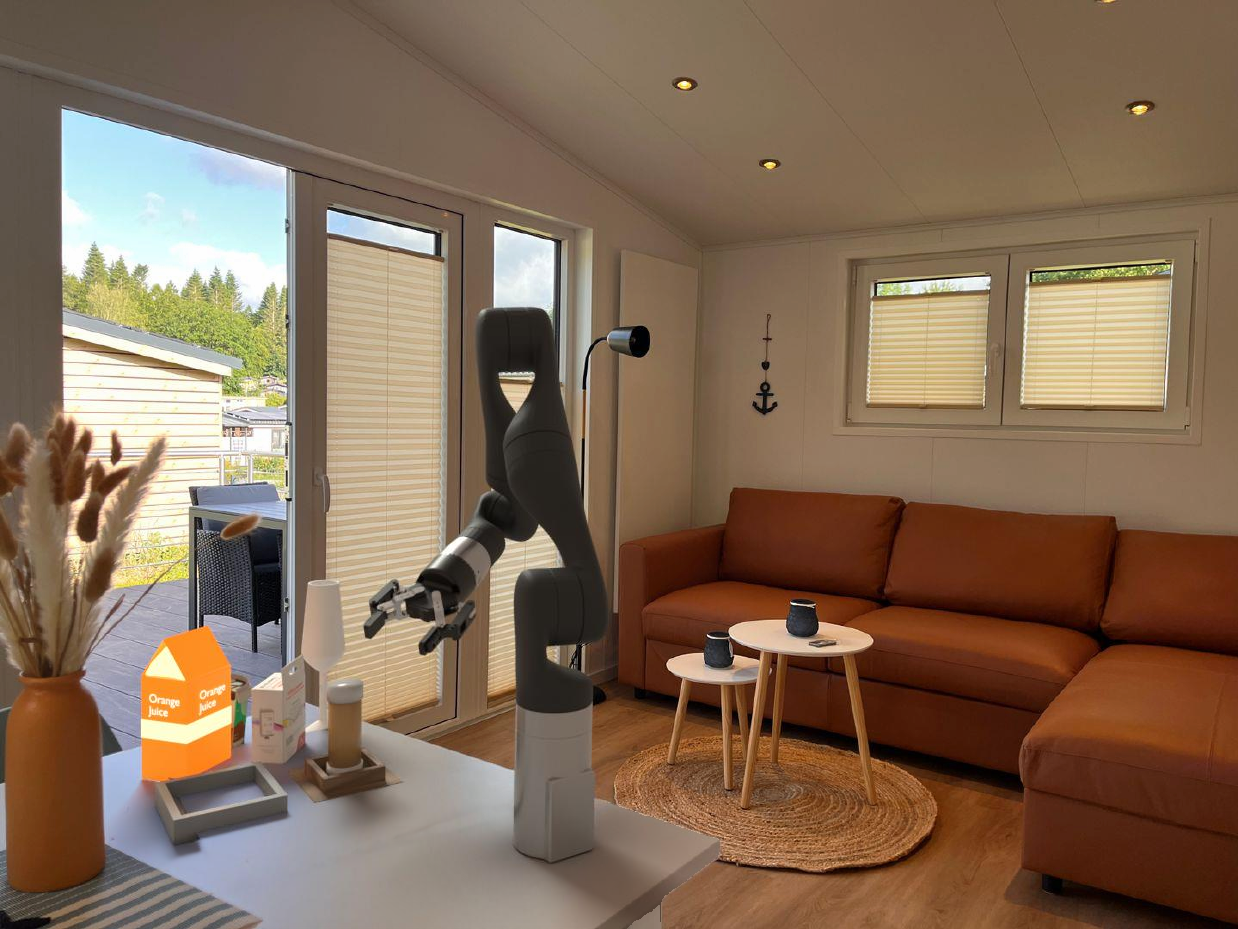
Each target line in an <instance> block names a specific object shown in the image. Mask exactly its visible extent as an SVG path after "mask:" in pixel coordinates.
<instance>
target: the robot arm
mask: <svg viewBox="0 0 1238 929" xmlns="http://www.w3.org/2000/svg"><path fill="white" fill-rule="evenodd" d="M474 329H475V330H474V331H475V332H474V334H475V335H474V336H475V337H474V340H475V341H474V342H475V354H476V355H475V357H476V358H475V359H476V366H477V367H476V368H477V376H478V385H479V386H478V387H479V395H480V404H481V410H482V411H481V412H482V418H483V425H484V434H485V466H484V467H485V472H484V473H485V480H486V484H487V485H488V486H489V488H491V489H492V490H490V491H487V492H484V493H482V494H481V495H480V496H479V498H478V500H477V501H476V504H475V506H474V509H473V512H472V515H471V517H470V519H469V521H468V522H467V524H466V526H465V528H464V529H463V530H462V531H461V533H459V534H458V535H457V537H456V538H455V539H454V540H453V541H451V542H450V543H449V544H448V545H446V546H445V547H444V548H443V549H442V550H441V551H440V552H439V553H438V554H437V555H436V556H435V557H434V558H433V559H432V560H431V561H430V562H429V563H428V564H427V566H425V568H424V569H423V570H422V571H421V572H420V574H419V575H418V577H417V578H416V580H415V582H414V583H413V584H410V585H409V586H403V585H400V584H399V580H398V579H397V578H396V579H395V578H393V579H391V580H390V581H389V582H388V583H387V584H386V583H385V585H384V586H383V587H382V588H381V589H380V590H379V591H378V592H376V594H374V595H373V596H372V597H371V598H369V600H368V604H369V611H370V616H369V618H367V619H366V621H364V623H363V625H362V627H363V632H364V633H363V634H364V638H365V639H368V640H372V639H373V638H374V637H375V636H376V635H377V634H378V632H380V631H381V630H382V628H383V627H385V625H386V623H387V622H390V621H394V620H397V621H402V620H404V619H407V618H411V619H413V620H414V619H416V620H421V621H423V622H425V623H428V624H429V623H431V622H434V623H435V626H434V625H432V627H431V628H430V629H429V630H428V632H427V633H426V634H425V635H423V637H422V638H421V639H420V640H419V642H418V654H419V655H420V656H425V657H426V656H427V655H428V654H431V653H432V652H434V651H435V649H436V648H437V647H438V645H439V644H440V643H441V642H442V641H445V640H447V639H448V638H450V639H451V640H452V641H456V642H457V641H460V640H461V638H462V637H463V636H464V634H465V633H466V631H467V630H468V628H469V627H470V626H471V625H472V623H473V622H474V620H475V619H476V617H477V610H476V601H475V600H473V599H469V600H468V598H469V597H470V596H471V595H472V594H473V592H474V591H475V590H476V589H477V588H478V587H479V585H480V584H481V583H482V582H483V580H485V577H486V575H487V573H489V571H490V570H491V568H492V567H493V566H494V565H495V564H496V563H497V561H498V560H499V559H500V558H501V557H502V555H503V553H504V552H505V549H506V540H510V541H513V542H518V543H523V542H524V543H525V542H527V541H530V539H532V537H534V536H535V534H536V533H537V531H538V528H539V526H540V527H541V528H542V530H544V531H545V533H546V534H547V535H548V536H549V537H550V539H551V540H552V542H553V544H554V545H555V546H556V549H557V551H558V552H559V556H560V558H561V560H562V563H563V565H564V567H561V566H560V567H540V568H539V567H536V568H528V569H525V570H522V571H521V572H520V574H519V575H518V576H517V578H516V582H515V585H514V588H513V589H514V590H513V622H514V625H513V626H514V647H515V648H514V650H515V652H514V656H515V657H514V659H515V660H514V661H515V662H514V667H515V669H514V671H515V675H514V678H515V717H514V718H515V720H514V721H515V722H514V723H515V725H514V726H515V727H514V767H513V768H514V773H513V774H514V775H513V776H514V777H513V782H514V783H513V837H512V838H513V839H512V842H513V846H514V847H515V849H516V850H518V851H519V852H520V853H522V854H524V855H526V856H528V857H532V858H537V859H543V860H545V861H546V862H547V863H554V862H557V861H561V860H564V859H566V858H570V857H574V856H576V855H579V854H582V853H585V852H588V851H591V850H594V842H595V840H594V839H595V838H594V836H595V834H594V833H595V793H596V792H595V789H596V788H595V787H596V786H595V785H596V784H595V783H596V773H595V771H594V770H593V769H592V750H593V749H592V748H593V747H592V746H593V745H592V744H593V707H594V706H593V703H594V702H593V701H594V700H593V699H594V693H593V692H594V686H593V680H592V679H591V677H590V676H589V675H588V674H587V673H585V672H584V671H581V670H578V669H575V668H572V667H570V666H565V665H561V664H559V663H557V662H554V661H552V660H550V659H549V658H548V652H547V649H548V647H560V646H561V647H562V646H574V645H576V646H577V645H587V644H593V643H597V642H600V641H601V640H603V638H605V636H606V634H607V632H608V628H609V624H610V606H609V598H608V593H607V592H608V591H607V588H606V584H605V580H604V579H605V578H604V576H603V573H602V568H601V566H600V562H599V558H598V555H597V551H596V549H595V545H594V541H593V538H592V535H591V531H590V527H589V524H588V519H587V516H586V515H587V514H586V510H585V505H584V501H583V495H582V489H581V484H580V477H579V476H580V475H579V470H578V465H577V464H578V463H577V460H576V459H577V458H576V454H575V449H574V444H573V443H574V442H573V439H572V436H571V431H570V426H569V423H568V419H567V414H566V409H565V405H564V404H565V403H564V400H563V395H562V389H561V382H560V374H559V364H558V357H557V348H556V340H555V332H554V328H553V323H552V321H551V318H550V315H549V314H548V312H547V311H546V310H545V309H544V308H541V307H535V306H520V307H518V306H515V307H513V306H511V307H508V306H506V307H488V308H487V307H486V308H484V309H481V311H480V312H479V313H478V315H477V318H476V322H475V328H474ZM514 372H515V373H518V372H519V373H520V372H521V373H522V372H531V373H533V374H534V378H533V382H532V384H531V387H530V389H529V392H528V394H527V396H526V398H525V399H524V401H523V402H522V404H521V405H520V407H519V408H518V409H517V412H516V410H515V409H514V408H513V406H512V405H511V403H510V402H509V400H508V398H507V397H506V395H505V393H504V390H503V388H502V385H501V381H500V373H514ZM403 603H405V604H404V605H405V609H404V610H402V604H403ZM392 609H393V610H392ZM390 610H392V611H391V612H390ZM388 611H389V612H388ZM455 614H457V615H455ZM452 615H455V617H454V619H453V620H452V622H450V623H446V618H447V617H449V616H452Z"/></svg>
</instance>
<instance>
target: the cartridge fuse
mask: <svg viewBox="0 0 1238 929" xmlns="http://www.w3.org/2000/svg"><path fill="white" fill-rule="evenodd" d="M363 698H364V681H363V680H362V679H359V678H340V679H339V678H338V679H335V680H331V681H329V682H327V719H328V729H327V732H328V733H327V734H328V735H327V754H328V762H327V766H326V774H327V775H328V776H331V775H335V774H340V773H344V772H349V771H354V770H358V769H363V759H362V758H361V747H362V743H363V742H362V735H363V734H362V730H363V729H362V721H363V719H362V718H363V717H362V716H363V714H362V712H363V709H362V708H363V705H362V704H363V702H362V701H363Z"/></svg>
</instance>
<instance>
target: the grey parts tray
mask: <svg viewBox="0 0 1238 929" xmlns="http://www.w3.org/2000/svg"><path fill="white" fill-rule="evenodd" d="M252 781H255V783H256V784H257V786H258V787H260V789H261V791H262V792H263V793H264V795H265V796H263V797H262V796H261V797H257V798H254V799H253V798H252V799H248V800H244V801H240V802H235V803H231V804H225V805H222V806H217V807H211V808H209V809H208V808H207V809H204V810H200V811H199V810H198V811H193V812H191V813H190V812H189V813H187V811H186V809H185V807H184V804H183V803H182V801H181V799H180V798H179V797H182V796H186V795H190V794H195V793H200V792H204V791H209V790H215V789H218V788H223V787H229V786H234V785H238V784H242V783H243V784H244V783H247V782H252ZM154 799H155V801H154V805H155V804H156V806H155V808H156V807H157V808H156V810H157V809H158V810H157V812H158V815H159V816H161V817H160V818H161V821H162V823H163V825H164V827H165V830H166V832H167V834H168V835H169V839H170V841H171V843H172V845H173V846H178V845H181V844H186V843H189V842H194V841H198V840H201V838H200V836H199V834H198V833H201V832H203V831H208V830H212V829H216V828H221V827H225V826H229V825H234V824H237V823H242V822H246V821H250V820H255V819H258V818H264V817H268V816H270V815H276V814H280V813H284V812H288V793H287V792H286V791H285V790H284V789H283V788H282V786H281V785H280V784H279V783H278V781H277V780H276V779H275V778H274V776H273V775H272V773H270V771H269V770H268V769H267V768H266V767H265V765H264V763H261V761H260V762H255V763H253V762H251V763H245V764H241V765H235V766H230V767H226V768H221V769H217V770H211V771H206V772H205V771H204V772H202V773H200V774H195V775H190V776H185V777H180V778H171V779H170V778H169V780H165V781H160V782H154Z"/></svg>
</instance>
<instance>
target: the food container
mask: <svg viewBox="0 0 1238 929" xmlns="http://www.w3.org/2000/svg"><path fill="white" fill-rule="evenodd" d="M252 688H253V687H252V684H251V681H250V679H249V677H248V676H245V675H243V674H238V673H234V672H231V749H234V748H235V747H238V746H240V745H245V737H246V723H247V713H248V705H249V704H248V701H249V699H250V698H251V689H252Z"/></svg>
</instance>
